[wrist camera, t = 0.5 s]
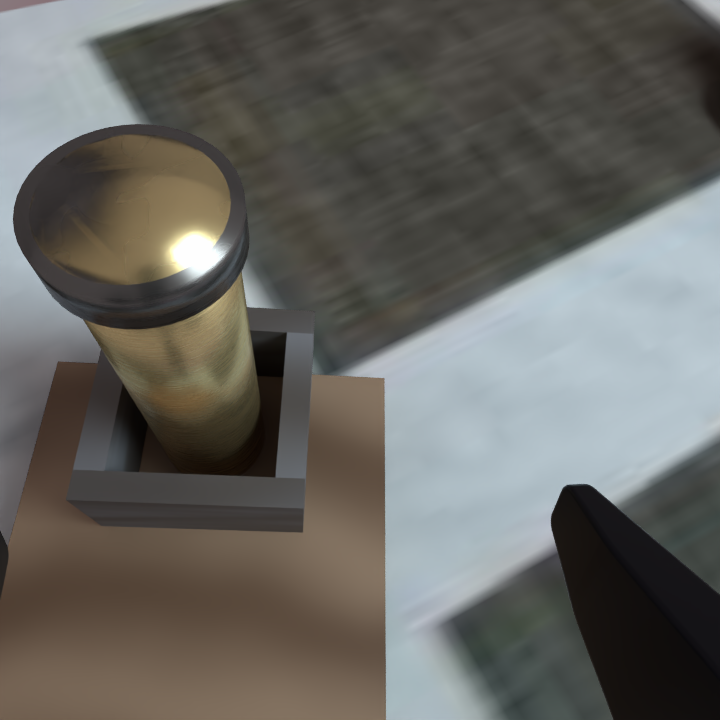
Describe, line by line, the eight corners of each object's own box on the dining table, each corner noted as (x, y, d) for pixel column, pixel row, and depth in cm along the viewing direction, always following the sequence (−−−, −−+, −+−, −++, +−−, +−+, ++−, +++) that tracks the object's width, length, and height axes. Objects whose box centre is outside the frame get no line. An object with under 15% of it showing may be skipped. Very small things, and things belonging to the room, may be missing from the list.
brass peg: (267, 492, 24) (232, 305, 12) (149, 488, 24) (-17, 290, 11) (276, 387, 26) (255, 132, 14) (167, 382, 26) (45, 116, 13)
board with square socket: (380, 973, 19) (408, 1078, 14) (-87, 983, 18) (-230, 1099, 13) (380, 376, 29) (397, 316, 24) (74, 360, 28) (25, 294, 23)
